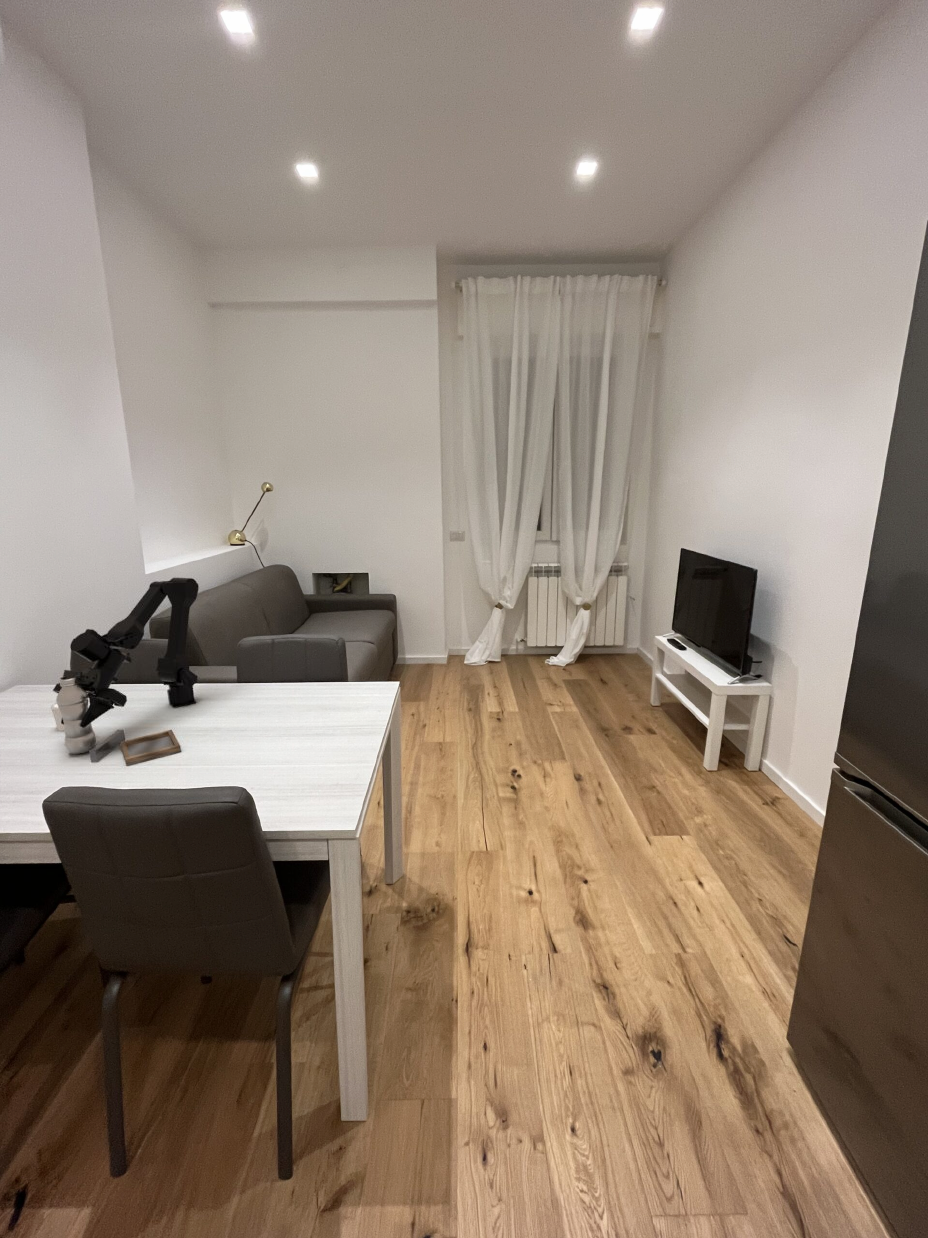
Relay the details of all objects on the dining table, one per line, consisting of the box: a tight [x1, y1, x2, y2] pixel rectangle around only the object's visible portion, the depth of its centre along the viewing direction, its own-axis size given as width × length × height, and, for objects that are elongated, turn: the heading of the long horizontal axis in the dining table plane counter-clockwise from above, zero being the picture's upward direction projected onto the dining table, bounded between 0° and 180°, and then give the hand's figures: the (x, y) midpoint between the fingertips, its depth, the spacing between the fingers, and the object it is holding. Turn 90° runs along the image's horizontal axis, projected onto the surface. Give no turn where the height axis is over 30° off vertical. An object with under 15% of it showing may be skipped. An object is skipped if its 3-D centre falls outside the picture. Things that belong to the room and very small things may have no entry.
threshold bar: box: [88, 729, 126, 763], centre depth 140 cm, size 12×2×3 cm, turn 1°
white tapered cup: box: [50, 702, 65, 732], centre depth 153 cm, size 7×7×7 cm
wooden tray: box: [119, 729, 182, 767], centre depth 140 cm, size 12×12×2 cm
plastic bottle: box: [55, 676, 97, 755], centre depth 137 cm, size 6×7×20 cm
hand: (72, 725), depth 137 cm, fingers closed on plastic bottle, 6 cm apart
